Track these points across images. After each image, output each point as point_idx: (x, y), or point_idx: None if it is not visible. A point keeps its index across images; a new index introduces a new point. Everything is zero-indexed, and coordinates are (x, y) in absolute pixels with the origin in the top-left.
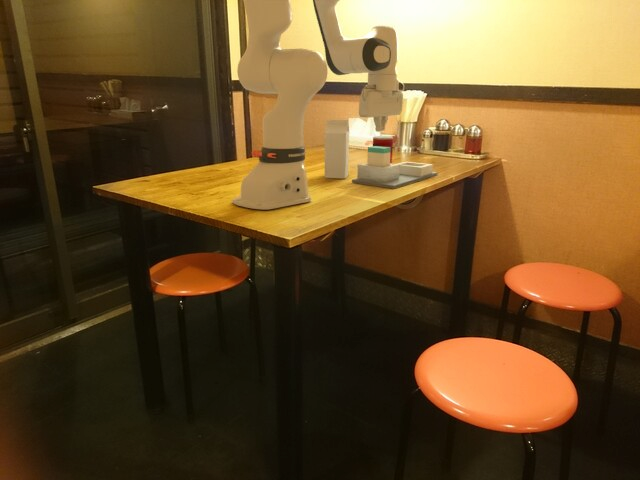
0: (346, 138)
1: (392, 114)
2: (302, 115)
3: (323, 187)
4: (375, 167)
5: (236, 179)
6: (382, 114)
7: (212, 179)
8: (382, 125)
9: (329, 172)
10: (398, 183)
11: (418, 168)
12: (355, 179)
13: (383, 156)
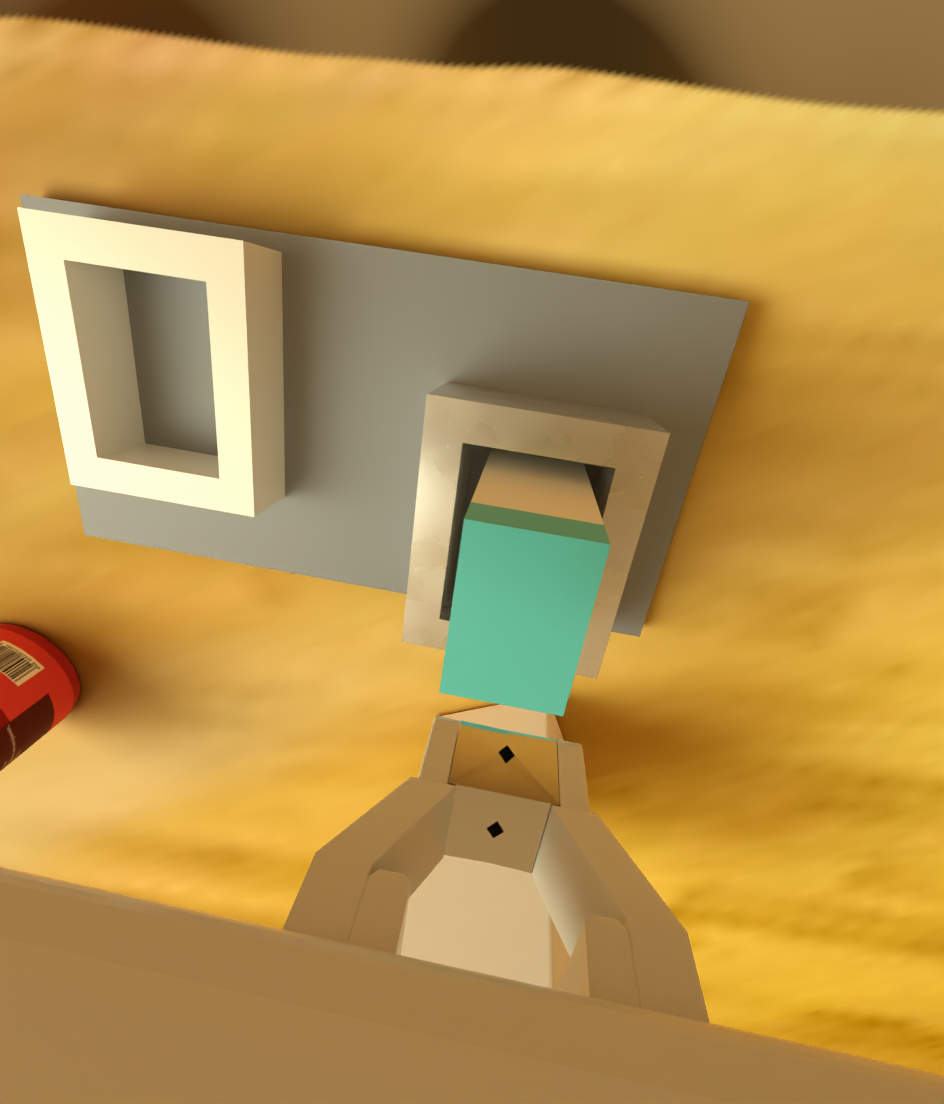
0: (526, 947)
1: (109, 912)
2: None
3: (839, 704)
4: (639, 532)
5: (772, 1031)
6: (697, 1072)
7: None
8: (480, 804)
9: None
10: (648, 305)
11: (249, 275)
12: (628, 620)
13: (598, 517)
